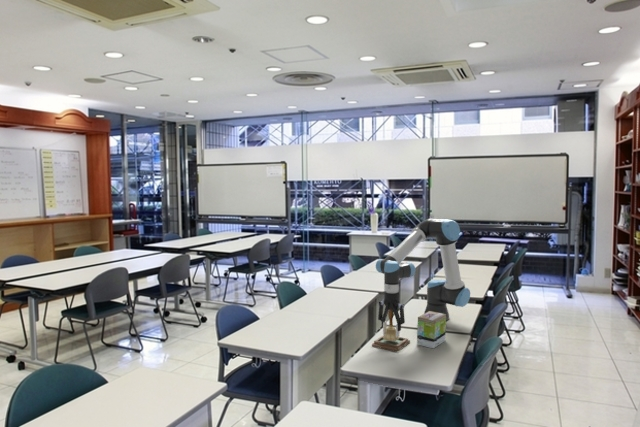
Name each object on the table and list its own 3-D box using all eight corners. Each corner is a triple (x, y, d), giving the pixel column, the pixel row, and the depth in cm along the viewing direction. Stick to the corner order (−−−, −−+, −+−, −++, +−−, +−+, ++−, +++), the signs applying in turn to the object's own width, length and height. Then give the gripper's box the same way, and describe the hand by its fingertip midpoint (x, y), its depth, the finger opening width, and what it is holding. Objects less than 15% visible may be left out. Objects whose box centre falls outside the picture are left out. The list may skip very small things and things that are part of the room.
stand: (385, 337, 242) (385, 333, 242) (409, 342, 234) (410, 338, 234) (371, 346, 229) (371, 341, 229) (396, 352, 221) (396, 347, 221)
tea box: (434, 349, 225) (435, 320, 224) (416, 344, 231) (416, 316, 230) (446, 340, 237) (446, 313, 236) (428, 336, 243) (428, 310, 242)
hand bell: (386, 341, 226) (386, 310, 225) (380, 336, 235) (381, 306, 233) (401, 340, 228) (401, 309, 227) (395, 335, 236) (396, 305, 235)
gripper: (371, 290, 232) (371, 333, 234) (406, 295, 221) (405, 341, 223) (377, 287, 238) (377, 329, 240) (412, 292, 227) (411, 336, 229)
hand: (391, 335), depth 231 cm, fingers closed on hand bell, 7 cm apart
